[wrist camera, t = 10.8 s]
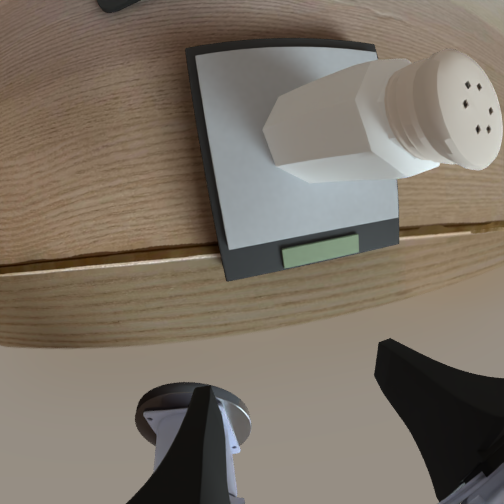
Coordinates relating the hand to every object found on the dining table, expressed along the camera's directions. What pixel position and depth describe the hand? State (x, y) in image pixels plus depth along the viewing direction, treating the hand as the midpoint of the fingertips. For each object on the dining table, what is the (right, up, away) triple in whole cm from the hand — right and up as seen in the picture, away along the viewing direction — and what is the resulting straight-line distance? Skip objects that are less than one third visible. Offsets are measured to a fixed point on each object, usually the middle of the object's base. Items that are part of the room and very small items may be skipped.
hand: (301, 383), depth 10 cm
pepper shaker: (+1, +12, +4) cm, 12 cm away
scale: (+1, +12, +7) cm, 14 cm away
